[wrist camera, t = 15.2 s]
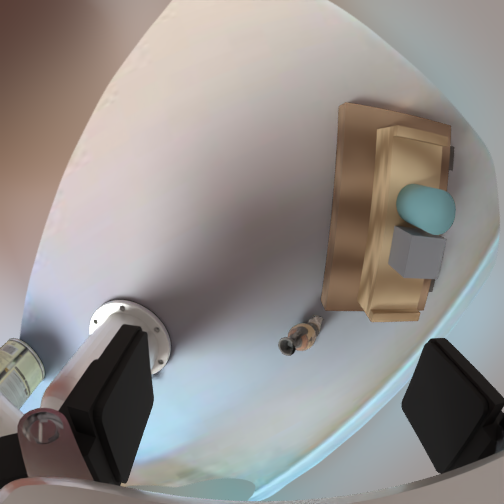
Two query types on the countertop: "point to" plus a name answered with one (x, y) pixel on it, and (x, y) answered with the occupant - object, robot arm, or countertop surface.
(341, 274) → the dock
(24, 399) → the coffee can
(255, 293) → the countertop surface
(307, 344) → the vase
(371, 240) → the light wood long block
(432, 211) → the teal cylinder
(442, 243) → the grey cube
